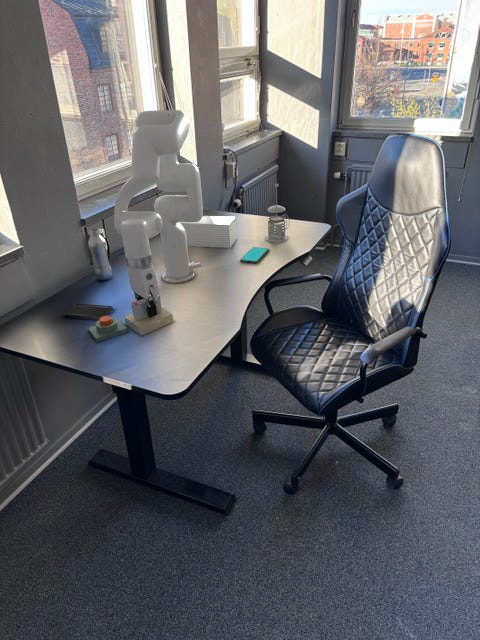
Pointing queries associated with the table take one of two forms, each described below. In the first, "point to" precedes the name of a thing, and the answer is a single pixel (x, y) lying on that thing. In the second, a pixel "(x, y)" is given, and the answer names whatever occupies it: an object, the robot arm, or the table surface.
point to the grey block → (143, 308)
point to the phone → (88, 311)
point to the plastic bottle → (99, 255)
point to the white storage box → (211, 232)
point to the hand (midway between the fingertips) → (147, 312)
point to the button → (105, 320)
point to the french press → (276, 219)
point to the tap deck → (149, 322)
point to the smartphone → (254, 255)
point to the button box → (107, 330)
